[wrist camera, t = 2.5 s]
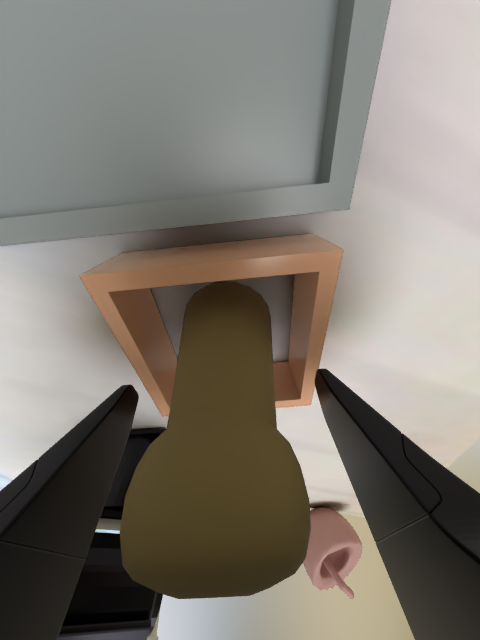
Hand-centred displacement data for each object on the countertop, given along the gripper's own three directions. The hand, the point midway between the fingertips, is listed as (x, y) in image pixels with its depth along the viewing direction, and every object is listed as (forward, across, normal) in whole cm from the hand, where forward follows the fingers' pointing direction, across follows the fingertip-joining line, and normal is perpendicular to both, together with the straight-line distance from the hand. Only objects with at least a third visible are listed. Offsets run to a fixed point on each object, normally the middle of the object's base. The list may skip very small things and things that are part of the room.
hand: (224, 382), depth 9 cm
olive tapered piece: (+5, 0, 0) cm, 5 cm away
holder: (+5, 0, 0) cm, 5 cm away
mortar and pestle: (+5, -14, +52) cm, 55 cm away
